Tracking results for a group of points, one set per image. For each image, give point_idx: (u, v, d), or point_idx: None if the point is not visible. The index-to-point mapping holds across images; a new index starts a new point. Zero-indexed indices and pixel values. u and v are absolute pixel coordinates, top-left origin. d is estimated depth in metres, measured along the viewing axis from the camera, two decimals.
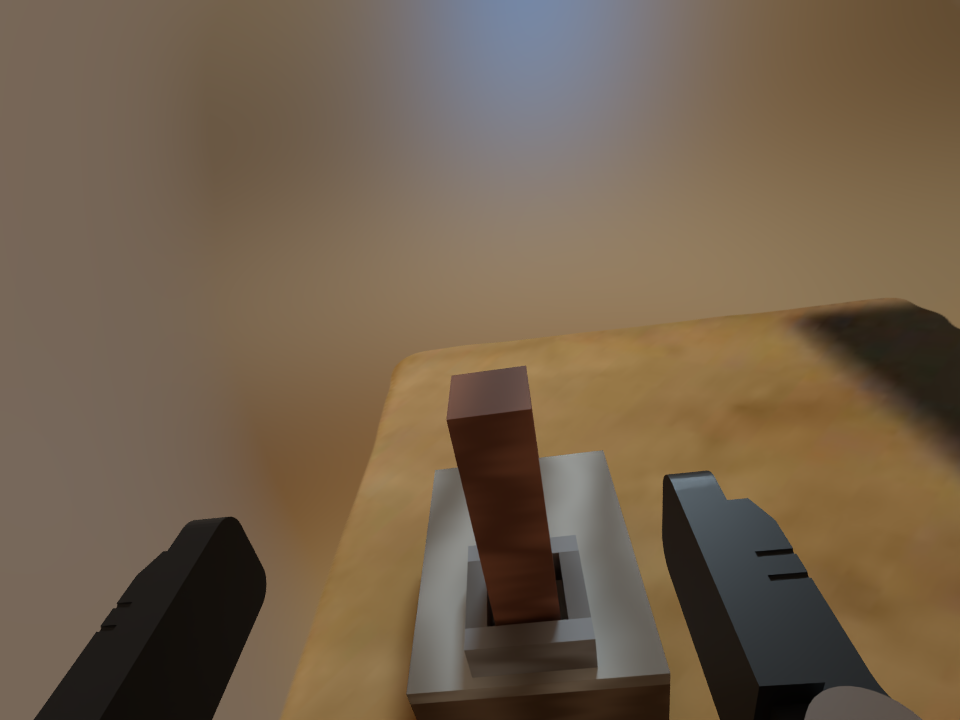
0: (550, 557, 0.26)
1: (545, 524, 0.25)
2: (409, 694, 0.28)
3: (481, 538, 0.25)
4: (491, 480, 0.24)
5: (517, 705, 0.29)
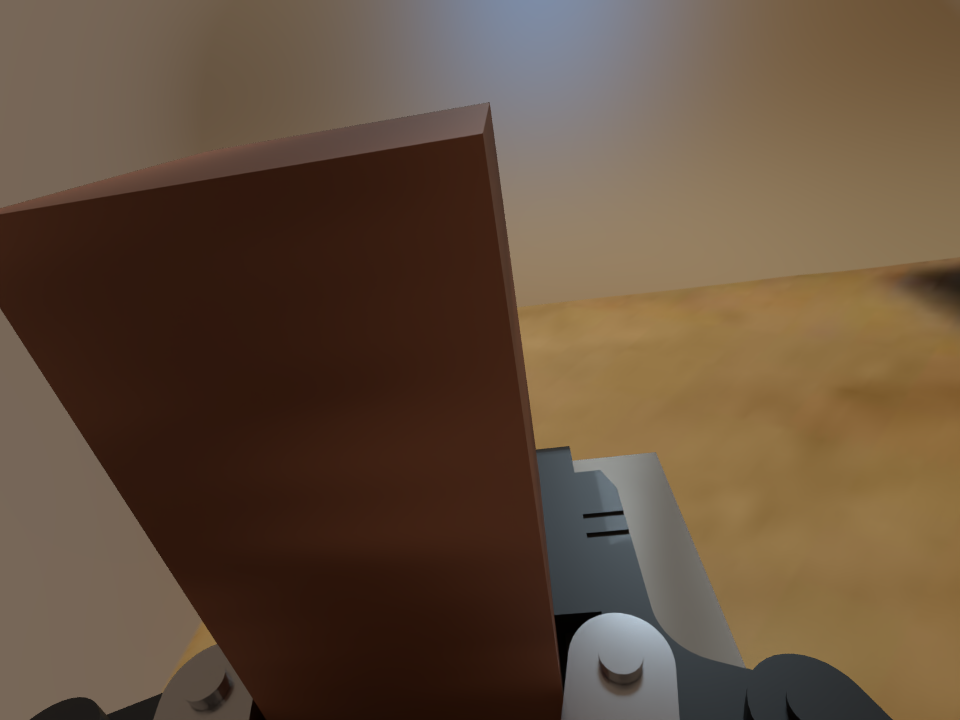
0: None
1: None
2: None
3: None
4: (310, 572, 0.05)
5: None
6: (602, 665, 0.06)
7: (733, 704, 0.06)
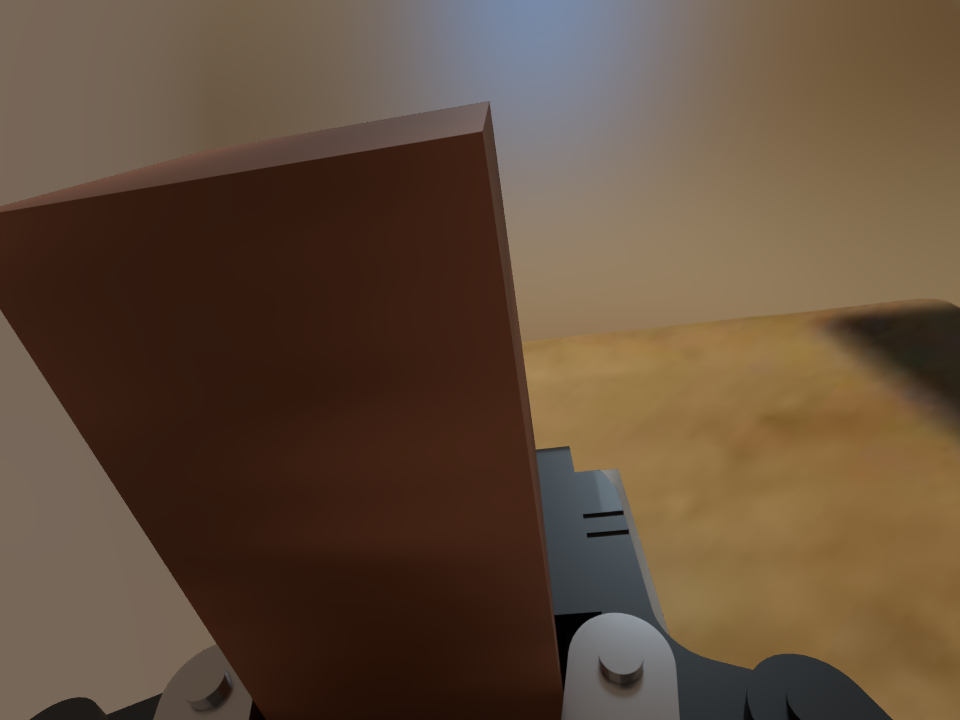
0: None
1: None
2: None
3: None
4: (310, 572, 0.05)
5: None
6: (602, 665, 0.06)
7: (733, 704, 0.06)
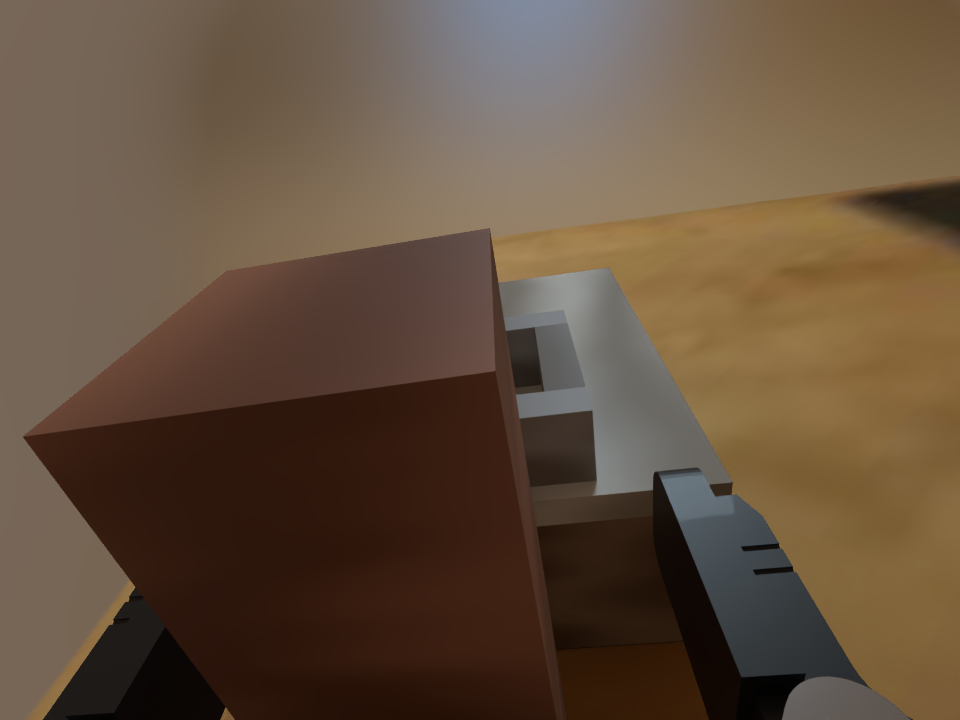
0: None
1: None
2: None
3: None
4: (338, 686, 0.06)
5: None
6: None
7: None
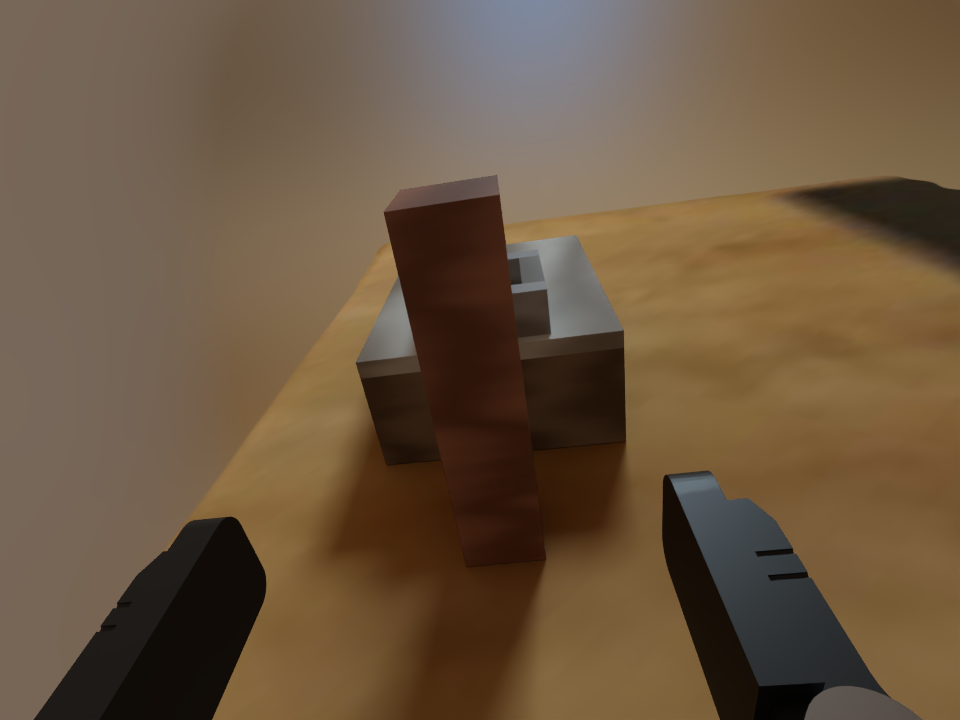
0: (527, 434, 0.20)
1: (520, 383, 0.19)
2: (358, 362, 0.28)
3: (437, 405, 0.19)
4: (447, 312, 0.18)
5: None
6: None
7: None
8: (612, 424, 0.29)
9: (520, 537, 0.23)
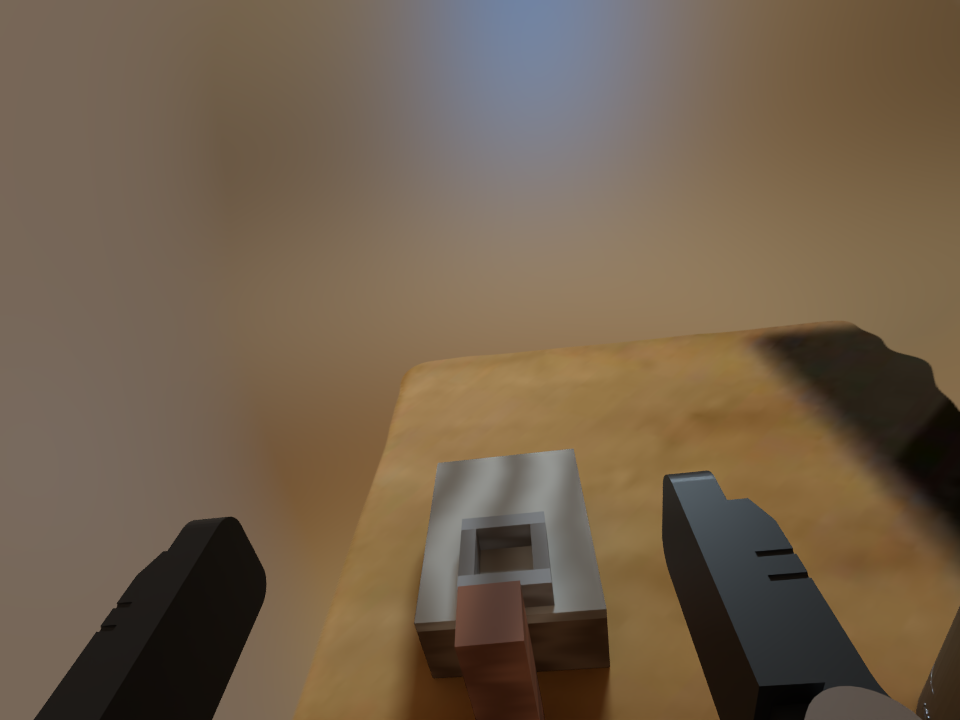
0: None
1: (535, 712, 0.30)
2: (416, 623, 0.38)
3: None
4: (491, 684, 0.28)
5: None
6: None
7: None
8: (599, 658, 0.40)
9: None
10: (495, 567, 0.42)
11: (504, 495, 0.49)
